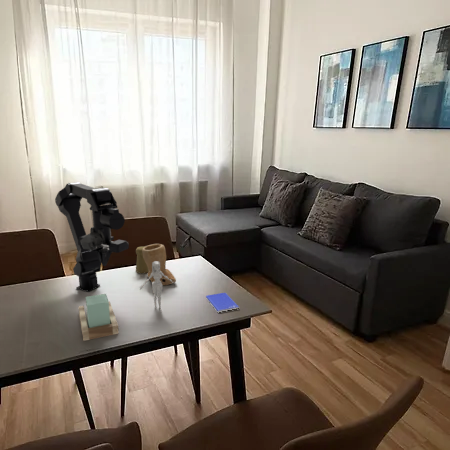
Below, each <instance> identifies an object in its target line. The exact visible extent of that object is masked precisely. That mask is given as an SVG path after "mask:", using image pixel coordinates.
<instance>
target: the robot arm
mask: <svg viewBox="0 0 450 450" xmlns="http://www.w3.org/2000/svg"><path fill="white" fill-rule="evenodd" d="M82 199H85V200H86V202H87V204H88V205H90V207H89V210H90V211H92V212H91V213H92V225H93V226H92V227H91V228H90V231H89V233H88V234H87V233H86V229H85V227H84V224H83V221H82V218H81V214H80V208H81V207H82V205H81V201H82ZM54 201H55V204H56V206H57V208H58V210H59V212H60V213H61V214H63V215H64V216H65V217H66V220H67V223H68V226H69V229H70V231H71V235H72V238H73V240H74V245H75V247H76V250H77V253H76V257H75V261H76V264H75V265H74V267H73V270H72V271H73V274H74V275H75V276H77V277H78V284H79V285H78V286H76V290H80V291H83V292H90V291H93V290H95V289H97V288H99V287H101V284H100V283H98V276H97V273H98V272H101V267H102V266H103V267H106V266H107V265H108V263H109V260H110V258H111V256H112V253H116V254H117V253H121V252H124V251H126V250H128V249H129V248H130V247H129V245H130V244H129V241H127V240H123V239H117V240H115V238H114V236H112V231H111V230H112V229H113V230H115V231H117V230H120V229H121V228H122V227H123V226H124V224H125V222H126V219H125V216H124V215H123V214H122V213H120V210H119V209H118V207H119V206H118V205H117V204H118V203H117V201H116V199H115V197H114V196H113V193H112V191H111V190H110V189H109V187H92V186H89V185H86V184H83V183H81V182H79V181H76V182H75V181H74V182H68V183H66V184H65V186H64V188H62V189H61V190H59V191H58V192H57V193H56V196H55V200H54ZM113 240H114V241H113Z"/></svg>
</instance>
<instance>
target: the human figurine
mask: <svg viewBox="0 0 450 450" xmlns="http://www.w3.org/2000/svg"><path fill="white" fill-rule="evenodd" d="M161 275H163V276H164V274H163V273H162V272H161V271H160V262H157V261H155V262H153V263H152V273H151V275H150V276H149V277H148V279H146V280H145V281H144V283H143V284H142V285H141V286H140V287H139V290H140V291H141V290H142V289H143V288H144V286H145V285H147V283H148V282H149V281H150V278H151V277H152V276H153V278H154V279H155V282H153V283H152V282H151V289H152V294H153V295H154V297H153V303H154V309H156V310H157V308H158V311H159V312H160V313H163V311H162V309H161V303H162V302H161V300H162V293H163V285H162V283H161V281H160V279H161V278H162V276H161ZM164 277H165V278H167V279H169V278H168V277H167V276H164ZM169 280H170V279H169ZM170 281H171V282H172V280H170ZM172 284H173V282H172ZM157 301H158V306H157Z"/></svg>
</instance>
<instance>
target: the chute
mask: <svg viewBox="0 0 450 450" xmlns="http://www.w3.org/2000/svg"><path fill="white" fill-rule="evenodd" d="M108 301H109V313H110V324H107V325H102V326H97V327H92V328H88V320H87V315H86V313H85V307H84V305H79V306H78V315H79V323H80V328H81V333H82V340H83V341H85V342H86V341H89V340H93V339H98V338H104V337H109V336H113V335H117V334H120V333H119V324H118V321H117V318H116V315H115V312H114V310H113V307H112V304H111V301H110V300H108Z"/></svg>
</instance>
